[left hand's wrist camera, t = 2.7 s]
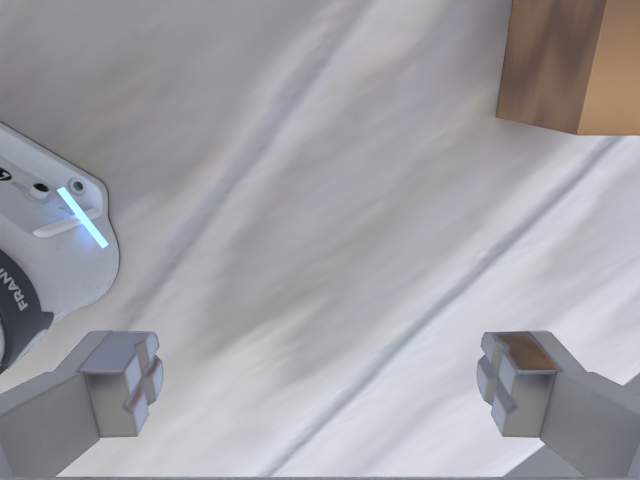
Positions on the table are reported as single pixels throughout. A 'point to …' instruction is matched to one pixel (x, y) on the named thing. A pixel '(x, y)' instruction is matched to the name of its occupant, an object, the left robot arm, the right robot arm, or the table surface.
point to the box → (573, 66)
